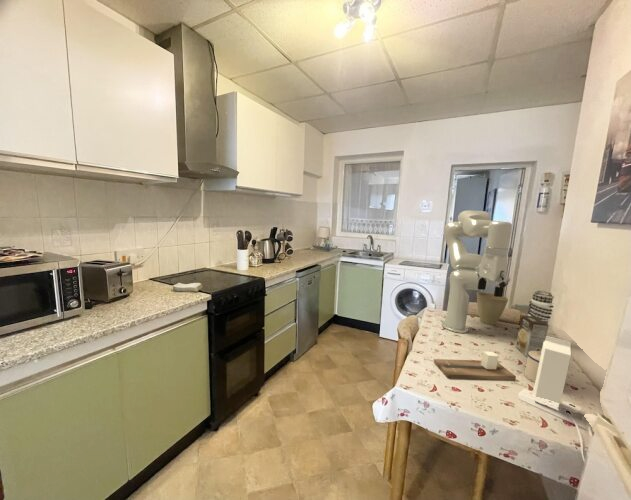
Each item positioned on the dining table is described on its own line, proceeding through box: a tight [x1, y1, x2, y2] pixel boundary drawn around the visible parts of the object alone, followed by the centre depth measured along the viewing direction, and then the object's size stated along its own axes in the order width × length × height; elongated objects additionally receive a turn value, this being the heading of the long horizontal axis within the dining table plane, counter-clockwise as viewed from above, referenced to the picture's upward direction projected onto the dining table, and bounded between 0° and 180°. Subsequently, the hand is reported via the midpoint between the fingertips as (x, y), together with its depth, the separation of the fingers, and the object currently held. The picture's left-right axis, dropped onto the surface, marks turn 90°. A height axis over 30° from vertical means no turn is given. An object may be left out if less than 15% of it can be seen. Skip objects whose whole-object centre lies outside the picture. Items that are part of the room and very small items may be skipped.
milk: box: [532, 335, 572, 405], centre depth 84 cm, size 6×6×22 cm
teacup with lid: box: [524, 350, 542, 383], centre depth 99 cm, size 12×9×12 cm
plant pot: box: [476, 291, 509, 326], centre depth 151 cm, size 15×15×16 cm
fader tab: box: [480, 351, 500, 369], centre depth 101 cm, size 3×4×6 cm
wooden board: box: [433, 358, 517, 381], centre depth 101 cm, size 10×26×2 cm, turn 93°
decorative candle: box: [527, 290, 555, 325], centre depth 131 cm, size 9×9×25 cm
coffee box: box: [515, 315, 550, 358], centre depth 117 cm, size 9×6×16 cm
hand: (489, 292), depth 108 cm, fingers open, 9 cm apart
